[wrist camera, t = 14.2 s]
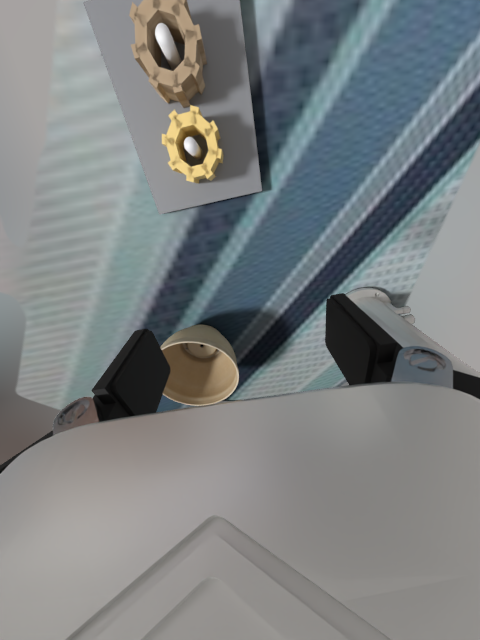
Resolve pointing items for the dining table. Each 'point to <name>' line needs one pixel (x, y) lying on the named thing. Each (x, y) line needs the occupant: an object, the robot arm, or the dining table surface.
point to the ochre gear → (188, 127)
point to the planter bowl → (200, 366)
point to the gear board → (215, 102)
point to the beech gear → (186, 80)
